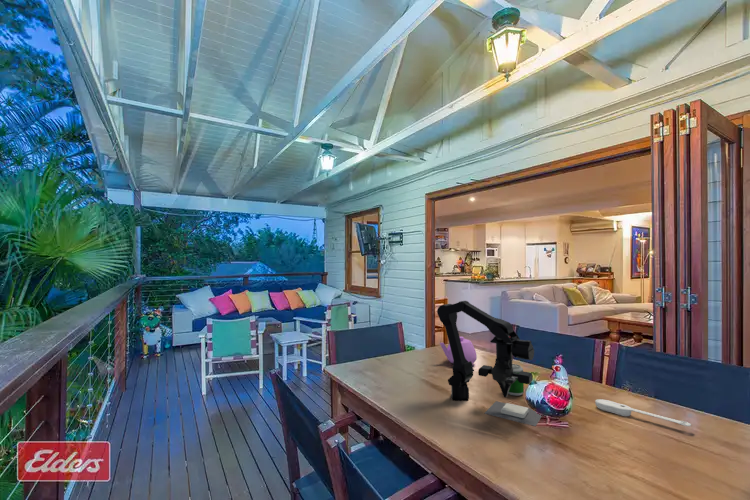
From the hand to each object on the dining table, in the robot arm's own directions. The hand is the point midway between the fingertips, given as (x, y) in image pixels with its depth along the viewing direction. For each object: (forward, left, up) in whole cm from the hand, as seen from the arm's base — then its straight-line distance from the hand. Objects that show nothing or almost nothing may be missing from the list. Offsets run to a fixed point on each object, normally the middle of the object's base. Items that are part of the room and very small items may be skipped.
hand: (505, 397), depth 134 cm
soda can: (+8, +19, -6) cm, 21 cm away
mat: (+3, -1, -6) cm, 6 cm away
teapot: (-11, +63, -6) cm, 64 cm away
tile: (-1, 0, -4) cm, 4 cm away
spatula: (+46, -2, -6) cm, 46 cm away
